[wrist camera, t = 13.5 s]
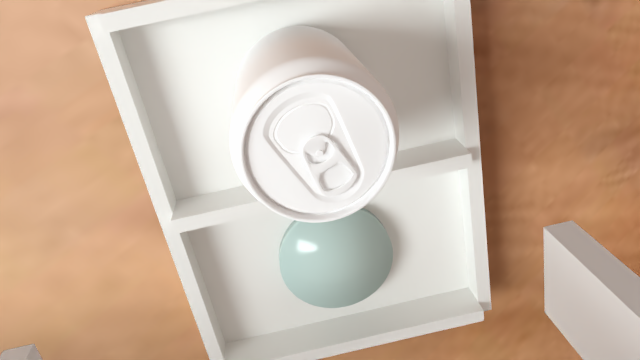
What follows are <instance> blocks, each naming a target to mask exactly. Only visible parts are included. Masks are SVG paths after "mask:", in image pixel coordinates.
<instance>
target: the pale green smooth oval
mask: <svg viewBox="0 0 640 360" xmlns="http://www.w3.org/2000/svg"><path fill="white" fill-rule="evenodd" d="M392 261H393V248H392V243H391V241H390V238H389V236H388V234H387V232H386V229H385V228H384V226H383V224H382V223H381V222H380V220H379V219H378V218H377V217H376V216H375V215H374V214H372V213H371V212H370V211H368V210H366V209H364V208H361V209H360V210H358V211H356V212H355V213H353V214H351V215H349V216H346V217H344V218H341V219H337V220H334V221H329V222H320V223H309V222H301V221H296V220H294V221H293V222H292V223H291V224H290V226H289V227H288V228H287V230H286V231H285V233H284V235H283V237H282V240H281V243H280V248H279V263H280V271H281V275H282V278H283V280H284V282H285V284H286V286H287V287H288V289H289V290H290V291H291V292H292V293H293V294H294V295H295V296H296V297H298V298H299V299H301V300H302V301H304V302H306V303H308V304H311V305H314V306H318V307H323V308H340V307H346V306H350V305H353V304H356V303H358V302H360V301H362V300H364V299H366V298H367V297H369V296H370V295H372V294H373V293H374V292H375V291H376V290H377V289H378V288H379V287H380V286H381V285H382V284H383V282H384V281H385V280H386V278H387V276H388V274H389V272H390V269H391V266H392Z"/></svg>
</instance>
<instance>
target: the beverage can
mask: <svg viewBox="0 0 640 360" xmlns="http://www.w3.org/2000/svg"><path fill="white" fill-rule="evenodd" d="M398 146H399V124H398V118H397V114H396V111H395V108H394V105H393V103H392V101H391V99H390V97H389V95H388V94H387V92H386V91H385V89H384V88H383V87H382V85H381V84H380V83H379V82H378V81H377V80H376V79H375V77H374V76H373V75H372V74H371V73H370V72H369V71H368V70H367V69H366V68H365V67H364V65H363V64H362V63H361V62H360V61H359V60H358V59H357V58H356V57H355V56H354V55H353V54H352V52H351V51H350V50H349V49H348V48H347V47H346V46H345V45H344V44H343V43H342V42H341V41H340V40H338V39H337V38H336V37H334V36H333V35H331V34H329V33H328V32H325V31H323V30H321V29H318V28H314V27H309V26H290V27H285V28H281V29H278V30H275V31H273V32H271V33H269V34H267V35H265V36H264V37H262V38H261V39H260V40H258V41H257V42H256V43H255V44H254V45H253V46H252V47H251V48H250V49H249V51H248V52H247V53H246V55H245V57H244V58H243V60H242V62H241V64H240V67H239V70H238V73H237V77H236V84H235V92H234V100H233V108H232V116H231V124H230V132H229V147H230V154H231V159H232V162H233V165H234V168H235V170H236V173H237V175H238V177H239V178H240V180H241V182H242V183H243V185H244V186H245V187H246V189H247V190H248V191H249V192H250V193H251V194H252V195H253V196H254V197H255V198H256V199H257V200H258V201H260V202H261V203H262V204H264V205H265V206H266V207H268V208H269V209H270V210H272V211H274V212H275V213H277V214H279V215H281V216H283V217H286V218H289V219H292V220H296V221H301V222H309V223H320V222H329V221H334V220H337V219H341V218H344V217H346V216H349V215H351V214H353V213H355V212H356V211H358V210H360V209H361V208H363V207H364V206H366V205H367V204H368V203H369V202H370V201H371V200H373V199H374V198H375V197H376V195H377V194H378V193H379V192H380V191H381V189H382V188H383V187H384V185H385V183H386V182H387V180H388V178H389V176H390V174H391V171H392V168H393V165H394V162H395V159H396V156H397V152H398Z"/></svg>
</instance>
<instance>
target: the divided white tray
mask: <svg viewBox="0 0 640 360" xmlns="http://www.w3.org/2000/svg"><path fill="white" fill-rule="evenodd" d="M85 19H86V21H87V24H88V27H89V30H90V32H91V35H92V38H93V41H94V43H95V46H96V49H97V52H98V54H99V57H100V60H101V63H102V65H103V68H104V71H105V74H106V76H107V79H108V82H109V85H110V87H111V90H112V93H113V96H114V98H115V101H116V104H117V106H118V109H119V112H120V115H121V117H122V120H123V123H124V126H125V128H126V131H127V134H128V137H129V139H130V142H131V145H132V148H133V150H134V153H135V156H136V159H137V161H138V164H139V167H140V170H141V172H142V175H143V178H144V181H145V183H146V186H147V189H148V192H149V194H150V197H151V200H152V203H153V205H154V208H155V211H156V213H157V216H158V219H159V222H160V224H161V227H162V230H163V233H164V235H165V238H166V241H167V244H168V246H169V249H170V252H171V255H172V257H173V260H174V263H175V266H176V268H177V271H178V274H179V277H180V279H181V282H182V285H183V288H184V290H185V293H186V296H187V299H188V301H189V304H190V307H191V310H192V312H193V315H194V318H195V321H196V323H197V326H198V329H199V331H200V334H201V337H202V340H203V342H204V345H205V348H206V351H207V353H208V356H209V359H210V360H317V359H321V358H326V357H330V356H334V355H339V354H343V353H347V352H351V351H356V350H360V349H364V348H369V347H373V346H377V345H382V344H386V343H390V342H394V341H399V340H403V339H407V338H412V337H416V336H420V335H425V334H429V333H433V332H437V331H442V330H446V329H450V328H455V327H459V326H463V325H467V324H472V323H476V322H480V321H484V312H483V311H487V310H492V309H491V295H490V280H489V266H488V251H487V237H486V222H485V207H484V193H483V178H482V164H481V149H480V135H479V120H478V106H477V91H476V77H475V62H474V48H473V33H472V18H471V4H470V0H146V1H141V2H136V3H132V4H127V5H122V6H118V7H113V8H108V9H104V10H99V11H97V12H95V13H92V14H90V15H87V16H85ZM290 26H309V27H314V28H318V29H321V30H323V31H325V32H328V33H329V34H331V35H333V36H334V37H336V38H337V39H338V40H340V41H341V42H342V43H343V44H344V45H345V46H346V47H347V48H348V49H349V50H350V51H351V52H352V54H353V55H354V56H355V57H356V58H357V59H358V60H359V61H360V62H361V63H362V64H363V65H364V67H365V68H366V69H367V70H368V71H369V72H370V73H371V74H372V75H373V76H374V77H375V79H376V80H377V81H378V82H379V83H380V84H381V85H382V87H383V88H384V89H385V91H386V92H387V94H388V95H389V97H390V99H391V101H392V103H393V105H394V108H395V111H396V114H397V118H398V124H399V146H398V152H397V156H396V159H395V162H394V165H393V168H392V171H391V174H390V176H389V178H388V180H387V182H386V183H385V185H384V187H383V188H382V189H381V191H380V192H379V193H378V194H377V195H376V197H375V198H374V199H373V200H371V201H370V202H369V203H368V204H367V205H366V206H364V207H363V208H364V209H366V210H368V211H370V212H371V213H372V214H374V215H375V216H376V217H377V218H378V219H379V220H380V222H381V223H382V224H383V226H384V228H385V229H386V232H387V234H388V236H389V238H390V241H391V243H392V248H393V261H392V266H391V269H390V272H389V274H388V276H387V278H386V280H385V281H384V282H383V284H382V285H381V286H380V287H379V288H378V289H377V290H376V291H375V292H374V293H373V294H372V295H370V296H369V297H367V298H366V299H364V300H362V301H360V302H358V303H356V304H353V305H350V306H346V307H340V308H323V307H318V306H314V305H311V304H308V303H306V302H304V301H302V300H301V299H299V298H298V297H296V296H295V295H294V294H293V293H292V292H291V291H290V290H289V289H288V287H287V286H286V284H285V282H284V280H283V278H282V275H281V271H280V263H279V248H280V243H281V240H282V237H283V235H284V233H285V231H286V230H287V228H288V227H289V226H290V224H291V223H292V222H293V221H294V220H292V219H289V218H286V217H283V216H281V215H279V214H277V213H275V212H274V211H272V210H270V209H269V208H268V207H266V206H265V205H264V204H262V203H261V202H260V201H258V200H257V199H256V198H255V197H254V196H253V195H252V194H251V193H250V192H249V191H248V190H247V189H246V187H245V186H244V185H243V183H242V182H241V180H240V178H239V177H238V175H237V173H236V170H235V168H234V165H233V162H232V159H231V154H230V147H229V132H230V124H231V116H232V108H233V100H234V92H235V84H236V77H237V73H238V70H239V67H240V64H241V62H242V60H243V58H244V57H245V55H246V53H247V52H248V51H249V49H250V48H251V47H252V46H253V45H254V44H255V43H256V42H257V41H258V40H260V39H261V38H262V37H264V36H265V35H267V34H269V33H271V32H273V31H275V30H278V29H281V28H285V27H290Z"/></svg>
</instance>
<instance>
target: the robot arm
mask: <svg viewBox="0 0 640 360" xmlns="http://www.w3.org/2000/svg"><path fill="white" fill-rule="evenodd" d="M544 297H545V313H546V314H547V316H548V317H549V318H550V319H551V321H552V322H553V323H554V324H555V325H556V327H557V328H558V329H559V330H560V332H561V333H562V334H563V335H564V337H565V338H566V339H567V340H568V342H569V343H570V344H571V345H572V346H573V348H574V349H575V350H576V351H577V353H578V354H579V355H580V356H581V358H582V359H583V360H640V277H639V276H637V275H636V274H635V273H634V272H633V271H632V270H630V269H629V268H628V267H627V266H626V265H624V264H623V263H622V262H621V261H620V260H618V259H617V258H616V257H615V256H614V255H613V254H611V253H610V252H609V251H608V250H607V249H605V248H604V247H603V246H602V245H601V244H600V243H598V242H597V241H596V240H595V239H594V238H592V237H591V236H590V235H589V234H588V233H586V232H585V231H584V230H583V229H582V228H581V227H579V226H578V225H577V224H576V223H575V222H573V221H568V222H564V223H559V224H555V225H550V226H546V227H544ZM0 360H42V358H41V356H40V354H39V352H38V350H37V348H36V346H35V344H31V345H26V346H22V347H17V348H13V349H9V350H4V351H3V352H2V354H1V355H0Z"/></svg>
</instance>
